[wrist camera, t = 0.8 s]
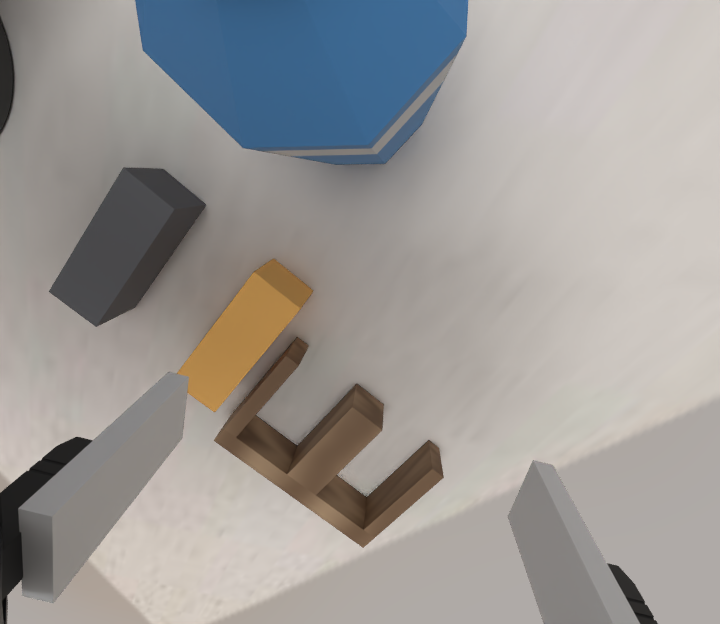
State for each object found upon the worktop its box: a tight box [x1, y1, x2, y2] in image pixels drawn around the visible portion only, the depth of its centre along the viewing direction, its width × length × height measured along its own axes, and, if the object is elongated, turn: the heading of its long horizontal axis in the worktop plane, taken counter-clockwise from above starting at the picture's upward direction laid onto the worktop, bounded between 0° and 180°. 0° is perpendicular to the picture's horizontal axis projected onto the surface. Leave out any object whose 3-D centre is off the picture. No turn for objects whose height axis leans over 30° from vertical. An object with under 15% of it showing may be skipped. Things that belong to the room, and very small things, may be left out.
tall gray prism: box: [49, 168, 206, 327], centre depth 31 cm, size 4×11×5 cm, turn 140°
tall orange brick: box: [177, 259, 313, 412], centre depth 33 cm, size 4×11×5 cm, turn 140°
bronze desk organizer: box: [214, 337, 444, 547], centre depth 36 cm, size 16×10×4 cm, turn 50°
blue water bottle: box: [135, 0, 468, 165], centre depth 17 cm, size 9×9×25 cm
